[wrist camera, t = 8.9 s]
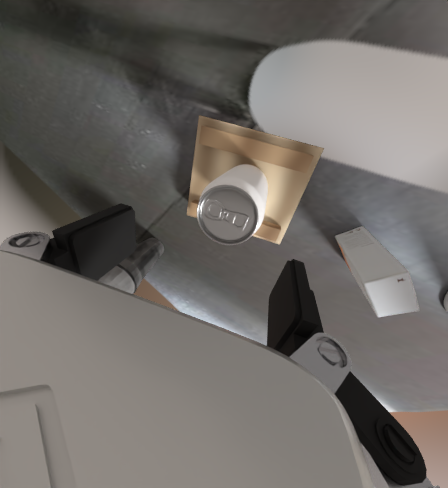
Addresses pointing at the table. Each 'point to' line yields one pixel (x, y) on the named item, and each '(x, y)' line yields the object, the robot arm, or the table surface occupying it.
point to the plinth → (261, 156)
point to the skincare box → (378, 273)
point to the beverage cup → (134, 266)
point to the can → (233, 205)
